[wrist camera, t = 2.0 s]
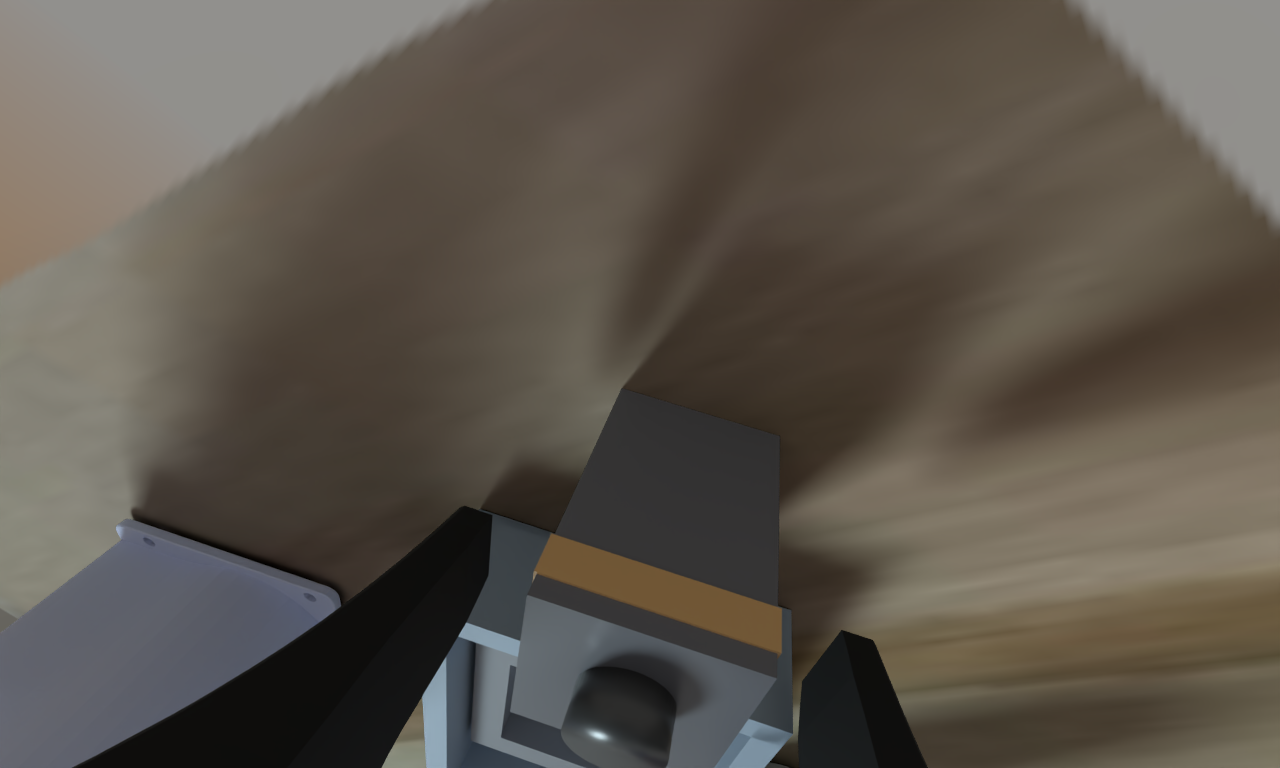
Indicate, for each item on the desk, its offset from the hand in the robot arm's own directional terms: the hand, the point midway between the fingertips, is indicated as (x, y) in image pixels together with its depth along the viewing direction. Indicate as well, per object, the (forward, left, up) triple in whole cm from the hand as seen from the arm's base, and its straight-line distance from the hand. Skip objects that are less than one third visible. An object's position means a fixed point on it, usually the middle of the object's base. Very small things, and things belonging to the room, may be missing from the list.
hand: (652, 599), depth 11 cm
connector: (0, 0, -4) cm, 4 cm away
